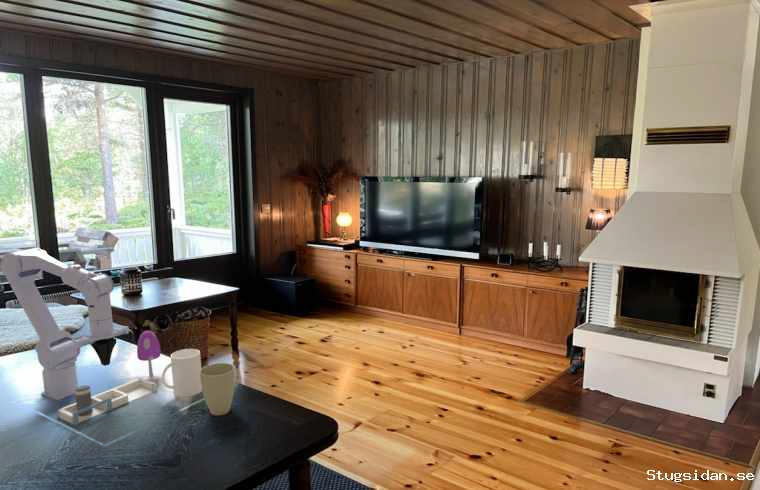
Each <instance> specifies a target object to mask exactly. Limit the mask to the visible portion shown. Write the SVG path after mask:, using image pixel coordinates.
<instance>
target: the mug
mask: <svg viewBox="0 0 760 490" xmlns="http://www.w3.org/2000/svg"><path fill="white" fill-rule="evenodd" d="M201 359H202V358H201V351H200V350H199V349H196V348H184V349H180V350H176V351H174V352H172V353H171V354H170V362H169V363H168V364H167V365H166V366H165V367H164V369H163V372H162V375H161V380H162V383H163V385H164V386H165V387H166V388H168V389H170V390H172V391H173V395H174V396H175V397H178V398H179V397H180V398H187V397H192V396H196V395H198V394H200V393H201V392H202V393H203V391H202V385H201V379H200V370H201V369H202V360H201ZM169 368H171V373H172V374H171V376H172V385H169V384H167V382H166V381H165V374H166V372H167V370H168V369H169Z"/></svg>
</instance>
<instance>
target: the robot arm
mask: <svg viewBox="0 0 760 490" xmlns="http://www.w3.org/2000/svg"><path fill="white" fill-rule="evenodd" d="M0 269H1V270H2V273H3V274H4V276H5V277H6V280H7V282H8V283H9V284H10V287H11V289H12V291H13V293H14V294H15V295H14V296H16V298H17V300H18V302H19V303H20V305H21V308H22V309H23V310H24V313H25V315H26V317H27V318H28V320H29V321H30V323H31V325H32V327H33V329H34V331H35V332H36V335H37V336H38V338H39V340H38V341H37V344H36V346H35V347H34V350H35V352H36V353H37V360H38V362H39V364H40V365H41V366H42V368H43V369H42V380H43V388H44V389H43V390H44V391H42V392H41V393H40V394H41V395H42V396H45V397H49V398H51V399H53V400H55V401H56V400H57V401H59V400H62V399H65V398H66V397H70V396H72V395H75V391H74V390H75V389H76V388H77V387H79V384H78V376H77V366H76V362H77V361H78V357H79V355H80V354H81V348H83V347H85V346H88V345H90V346H91V347H92V349H93V350H94V352H95V353H96V355H97V356H98V359H99V360H100V365H102V366H104V367H105V366H109V365H110V364H111V358H112V354H113V351H114V348H115V346H116V344H117V339H116V338H115V337H118V336H122V335H127V334H129V333H130V329H129V328H130V327H129V326H127V325H126V326H125V325H123V326H118V327H114V325H113V324H114V323H113V314H112V312H113V311H112V303H111V294H110V293H112V292H113V290H114V286H115V284H114V283H115V282H114V280H113V279H112V278H111V277H110V275H108V274H106V273H101V274H96V273H95V272H93V271H89V270H88V269H85V268H83V267H82V265H80V264H71V265H69V266H68V265H67V264H65V263H63V262H61V261H59V260H58V259H56V258H54V257H53V256H50V255H49V254H48V252H47V251H46V250H45V249H41V248H40V247H36V246H35V247H32V248H27V249H24V250H23V249H22V250H18V251H13V252H9V251H8V252H6V253H4V254H3V256H2V258H1V261H0ZM42 271H43V272H47V273H49V274H51V275H55V276H57V277H60V278H61V280H62V283H63V284H65V285H67V286H70V287H72V288H74V289H76V290H78V291H80V294H81V295H82V297H83V298H84V302H85V304H86V305H87V312H88V322H89V330H90V332H89V333H90V334H87V335H85V336H82V337H80V338H77V339H74V337H73V336H72V335H71V333H70V332H68V331H65V330H61V329H60V327H59V326H58V324H57V322H56V321H55V318H54V316H53V315H52V313H51V311H50V309H49V308H48V306H47V304H46V302H45V300H44V298H43V296H42V295H41V293H40V291H39V289H38V287H37V285H36V284H35V282H36V279H37V278H39V276H40V274H41V272H42Z"/></svg>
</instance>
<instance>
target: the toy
mask: <svg viewBox="0 0 760 490" xmlns="http://www.w3.org/2000/svg"><path fill="white" fill-rule="evenodd" d="M136 354H137V359H138V360H139V361H146V362H148V376H153V375H154V372H153V364H152V361H153V360H156V359H158V358H159V357H160V356H161V346H160V341H159V339H158V337H157V335H156V334H155V333H154V332H153V331H151V330H145V331H143V332H142V333H141V334H140V335H139V338H138V340H137V346H136Z"/></svg>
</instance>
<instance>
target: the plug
mask: <svg viewBox="0 0 760 490" xmlns="http://www.w3.org/2000/svg"><path fill="white" fill-rule="evenodd" d="M74 391H75V394H74V396H75V403H76V406H77V411H78V410H80V409H83V408H85V407H88V406H90V405H92V400H91V397H92V392H91V391H92V390H91V386H90V385H80V386H78V387H77V388H76V389H75V390H74ZM92 412H93V408H92V409H89V410H87V411H84V412H82V413H79V414H78V416H86V415H89V414H91V413H92Z"/></svg>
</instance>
